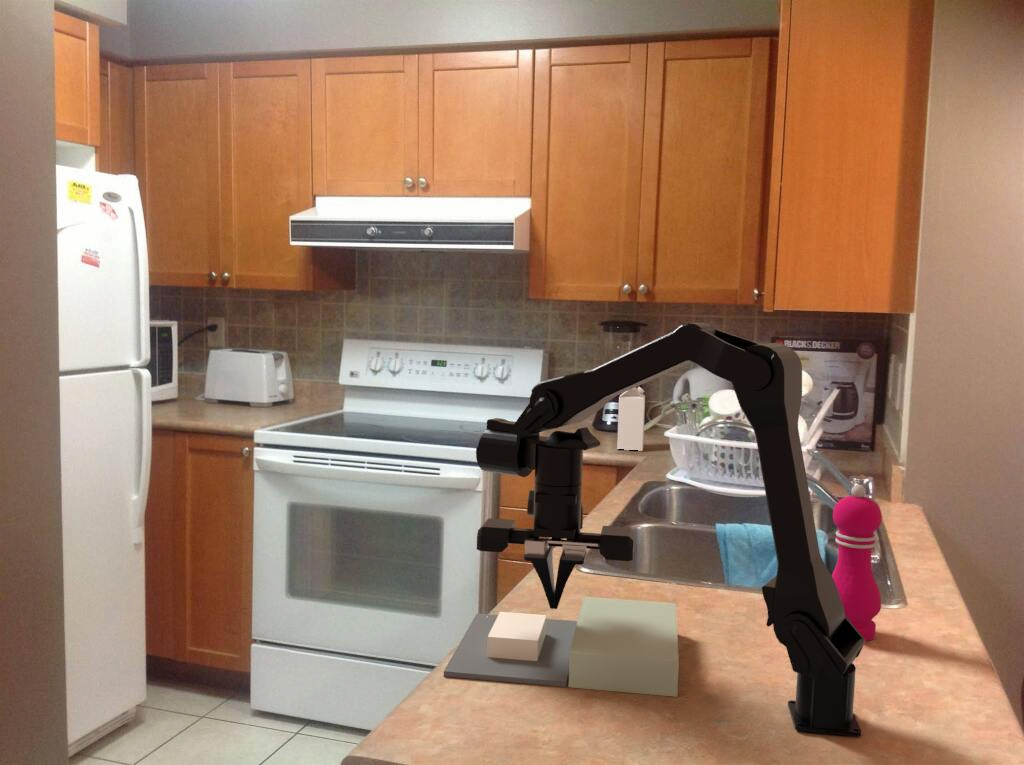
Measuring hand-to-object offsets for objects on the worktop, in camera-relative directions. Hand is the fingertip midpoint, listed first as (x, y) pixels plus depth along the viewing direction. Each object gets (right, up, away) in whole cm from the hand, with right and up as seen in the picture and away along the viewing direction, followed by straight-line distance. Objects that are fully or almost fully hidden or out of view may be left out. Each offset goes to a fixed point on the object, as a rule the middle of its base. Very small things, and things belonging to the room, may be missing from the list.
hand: (554, 607), depth 116 cm
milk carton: (+28, +8, +154) cm, 157 cm away
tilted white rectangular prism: (-4, -4, +1) cm, 6 cm away
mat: (-5, -5, +1) cm, 7 cm away
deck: (+9, -6, -1) cm, 10 cm away
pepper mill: (+40, -6, +10) cm, 41 cm away
